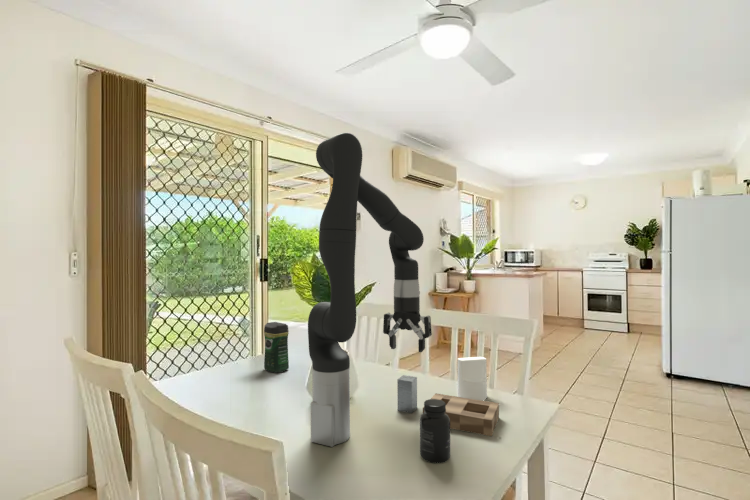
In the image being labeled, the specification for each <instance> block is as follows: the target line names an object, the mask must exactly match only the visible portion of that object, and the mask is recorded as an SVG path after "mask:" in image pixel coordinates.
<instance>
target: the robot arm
mask: <svg viewBox="0 0 750 500" xmlns="http://www.w3.org/2000/svg"><path fill="white" fill-rule="evenodd" d="M315 151H316V152H315V159H316V161H317V162H316V163H317V164H318V166H319V167H320V168H321V169H322V171H323V172H325V173H326V174H327V175H328V176H329V177H330V178H331V179H332V185H331V186H332V187H331V191H330V193H329V198H328V199H327V202H326V204H325V207H324V209H323V212H322V216H321V218H320V222H319V231H318V234H319V235H318V252H319V255H320V256H319V257H320V258H321V261H322V263H323V266H324V269H325V271H326V274H327V277H328V278H329V285H330V301H321V302H318V303H316V304H314V306H313V307H312V308H311V310H310V312H309V314H308V319H307V337H308V353H309V358H310V360H311V363H312V401H311V403H310V442H312V443H316V444H319V445H323V446H327V447H331V448H333V447H334V446H335V445H336V446H337V445H339V444H342V443H345V442H347V441H348V440H349V439H350V436H351V402H350V401H351V399H350V398H351V391H350V390H351V387H350V385H351V381H350V380H351V377H350V375H351V371H350V370H351V369H350V368H351V367H350V366H351V364H350V361H351V359H350V356H349V354H348V353H347V352H346V351H345V350H344V349H343V348H342V347H341V345H340V343H345V342H346V343H347V342H348V341H349V340H350V339H351V338H352V336H353V335H354V333H355V331H356V326H357V301H356V286H355V285H356V284H355V283H356V282H355V281H356V280H355V278H356V277H355V274H356V272H355V271H356V269H355V264H356V261H355V260H356V248H357V247H356V245H357V215H358V214H357V213H358V203H359V204H360V205H361V206H362V207H363V208H364V209H365V210H366V212H367V213H369V215H370V216H371V217H372V219H373V220H374V221H375V222H376V224H378V225H379V227H380V228H381V229H382V230H385V232H386V231H387V232H390V234H389V237H388V247H389V250H390V255H391V257H392V258H391V259H392V262H393V266H394V270H393V272H394V275H393V276H394V278H393V279H394V281H393V282H394V283H393V313H390V312H387V313H384V314H383V324H382V327H383V329H382V333H383V334H385V335H387V336H388V337H389V338H388V339H389V340H388V341H389V342H388V343H389V344H388V345H389V347H390V349H391V350H395V349H396V348H397V335H396V334H397V333H398V331H399V330H401V331H402V330H407V331H413V333H414V334H416V335H417V337H418V341H417V342H418V344H417V345H418V353H423V352H424V351H425V349H426V339H428V338H430V337H432V334H433V333H432V321H431V320H432V317H431V315H425V316H424V315H421V313H420V312H421V310H420V309H421V307H420V304H421V303H420V302H421V301H420V294H421V291H420V282H419V263H418V261H417V260H416V259H413V258H412V257H411V256H410V254H409V253H410V252H411V251H412V252H413V251H417V250H419V249H420V248H421V247H422V246H423V244H424V234H423V231H422V229H421V228H420V227H419V226H418V225H417V224H416V223H415V222H414V221H412V220H411V219H410V218H408V216H406V215H405V214H404V213H402V211H400V210H399V208H398V206H396V204H395V203H394V202H393V200H391V198H390V197H389V196H388V195H387V194H386V193H385V192H384V191H382V190H381V189H380V188H378V187H376V186H375V185H374V184H372V183H370V182H369V181H368V180H366V179H365V178H364V177H363V176H362V175H361V172H362V167H363V166H362V165H363V149H362V145H361V142H360V140H359V139H358V137H357V136H356V135H354V134H353V133H351V132H341V133H338V134H336V135H334V136H332V137H330V138H328V139H325V140H323V141H321V142H320V143H319V144H318V145H317V148H316V150H315ZM409 251H410V252H409ZM392 320H394V322H395V324H394V325H393V326H392V328H391V321H392ZM420 322H422V324H423V325H424V326H423V327H424V330H423V327H422V326H421V325H420Z"/></svg>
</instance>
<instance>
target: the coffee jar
mask: <svg viewBox="0 0 750 500" xmlns="http://www.w3.org/2000/svg"><path fill="white" fill-rule="evenodd" d="M289 332H290V331H289V325H288V324H287V323H282V322H278V321H271V322H267V323H266V324H265V325H264V329H263V335H264V357H263V359H264V361H263V362H264V363H263V364H264V365H263V368H264V370H265V371H267V372H269V371H270V373H273V372H274V373H284V372H285V370H286V371H287V370H289V369H290V368H289V367H290V366H289V363H290V362H289V361H290V360H289V346H288V345H289V339H288V338H289V334H290V333H289ZM283 371H284V372H283Z"/></svg>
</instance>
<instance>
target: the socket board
mask: <svg viewBox="0 0 750 500" xmlns="http://www.w3.org/2000/svg"><path fill="white" fill-rule="evenodd" d="M430 399H438V400H442V401H444V402H445V404H446V412H445V413H446V414H447V415H448V416H449V418H450V430H456V431H462V432H468V433H472V434H476V435H477V434H478V435H483V436H487V437H492V436H493V434H494V432H495V429H496V426H497V423H498V422H499V418H500V404H499V402H492V401H487V400H484V401H481V400H475V399H469V398H462V397H458V396H455V395H449V394H443V393H442V394H441V393H434V394H433V395H432V396H431V398H430ZM422 413H424V406H423V407H422ZM497 421H498V422H497Z"/></svg>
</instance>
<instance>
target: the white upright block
mask: <svg viewBox="0 0 750 500" xmlns="http://www.w3.org/2000/svg"><path fill="white" fill-rule="evenodd" d="M487 382H488V378H487V358H486V357H484V356H470V357H468V356H467V357H458V358H457V397H462V398H469V399H475V400H481V401H483V400H484V401H486V400H487V399H486V398H488V396H487V395H488V394H487V393H488V383H487ZM485 399H486V400H485Z"/></svg>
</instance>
